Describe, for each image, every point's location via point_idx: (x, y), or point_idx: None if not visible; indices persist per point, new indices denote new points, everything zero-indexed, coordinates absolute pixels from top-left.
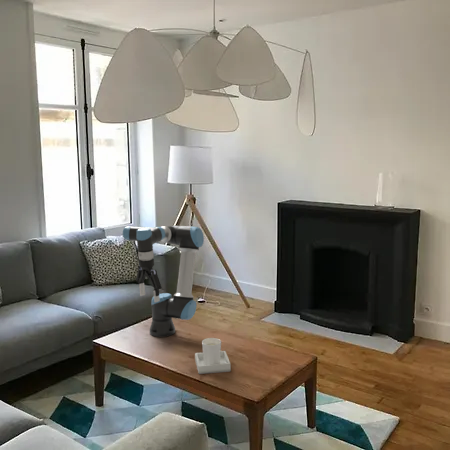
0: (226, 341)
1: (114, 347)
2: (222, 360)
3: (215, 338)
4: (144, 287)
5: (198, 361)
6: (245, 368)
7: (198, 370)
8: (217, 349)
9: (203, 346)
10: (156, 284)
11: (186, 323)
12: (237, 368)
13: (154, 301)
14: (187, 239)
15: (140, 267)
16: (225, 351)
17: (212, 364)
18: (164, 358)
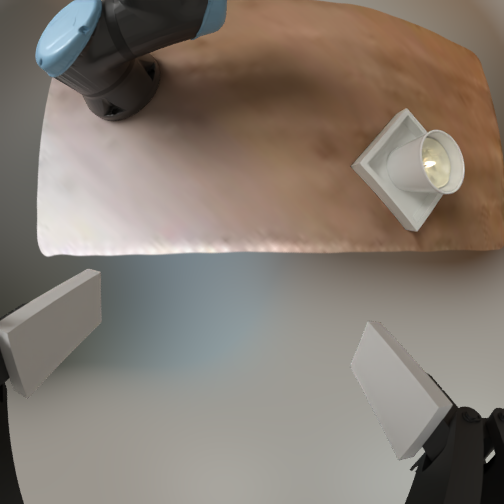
0: (325, 31)
1: (92, 252)
2: (410, 138)
3: (436, 131)
4: (50, 307)
5: (401, 205)
6: None
7: (409, 228)
8: (453, 173)
9: (432, 190)
10: (486, 492)
11: None
12: None
13: (353, 370)
14: None
15: None
16: (409, 111)
17: (434, 199)
18: (267, 211)
